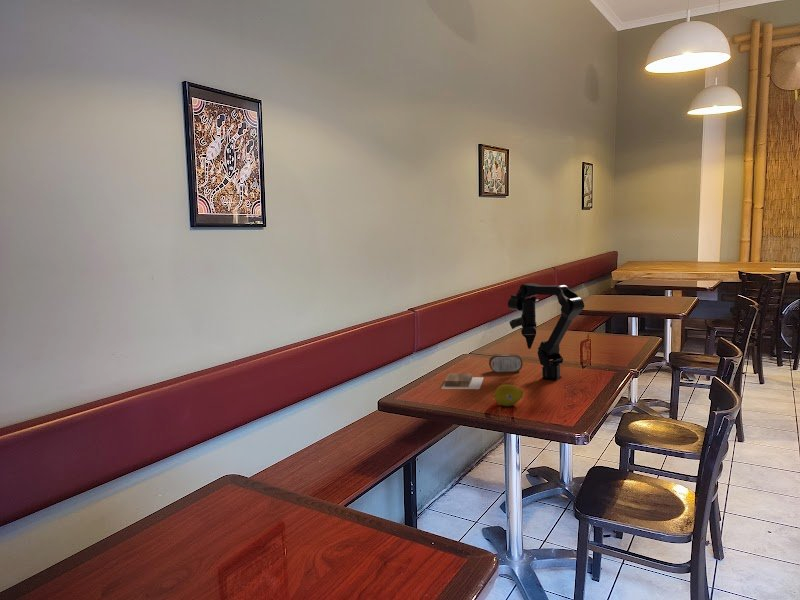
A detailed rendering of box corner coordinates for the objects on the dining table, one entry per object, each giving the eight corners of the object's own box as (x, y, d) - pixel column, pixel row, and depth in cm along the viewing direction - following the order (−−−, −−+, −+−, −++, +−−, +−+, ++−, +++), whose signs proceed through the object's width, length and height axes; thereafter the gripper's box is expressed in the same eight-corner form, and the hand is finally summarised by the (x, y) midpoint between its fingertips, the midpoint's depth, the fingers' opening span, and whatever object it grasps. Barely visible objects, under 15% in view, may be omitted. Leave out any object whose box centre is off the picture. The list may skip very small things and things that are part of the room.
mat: (483, 378, 253) (483, 377, 253) (479, 389, 236) (479, 389, 236) (447, 377, 257) (447, 376, 257) (440, 389, 240) (440, 388, 240)
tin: (522, 370, 262) (522, 352, 261) (523, 372, 259) (522, 354, 258) (489, 371, 264) (488, 353, 263) (489, 373, 260) (488, 355, 259)
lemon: (492, 408, 212) (491, 387, 211) (495, 401, 219) (494, 381, 218) (522, 409, 209) (521, 388, 208) (524, 403, 216) (523, 382, 215)
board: (471, 373, 251) (449, 373, 254) (468, 381, 240) (444, 380, 242) (472, 379, 252) (449, 378, 254) (468, 386, 240) (444, 386, 243)
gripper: (511, 308, 265) (512, 342, 267) (509, 315, 247) (510, 351, 249) (536, 308, 263) (536, 342, 265) (535, 315, 245) (536, 351, 247)
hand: (529, 346), depth 256 cm, fingers open, 9 cm apart
